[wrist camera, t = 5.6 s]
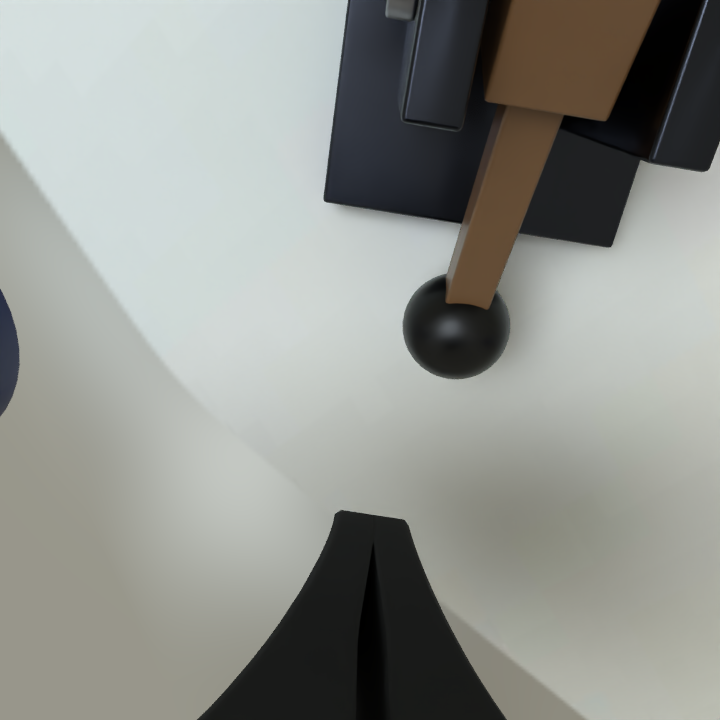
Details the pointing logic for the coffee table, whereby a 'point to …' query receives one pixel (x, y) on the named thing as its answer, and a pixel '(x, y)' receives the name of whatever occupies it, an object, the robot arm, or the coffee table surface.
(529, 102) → the lever
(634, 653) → the coffee table surface
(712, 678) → the coffee table surface
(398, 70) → the bracket
